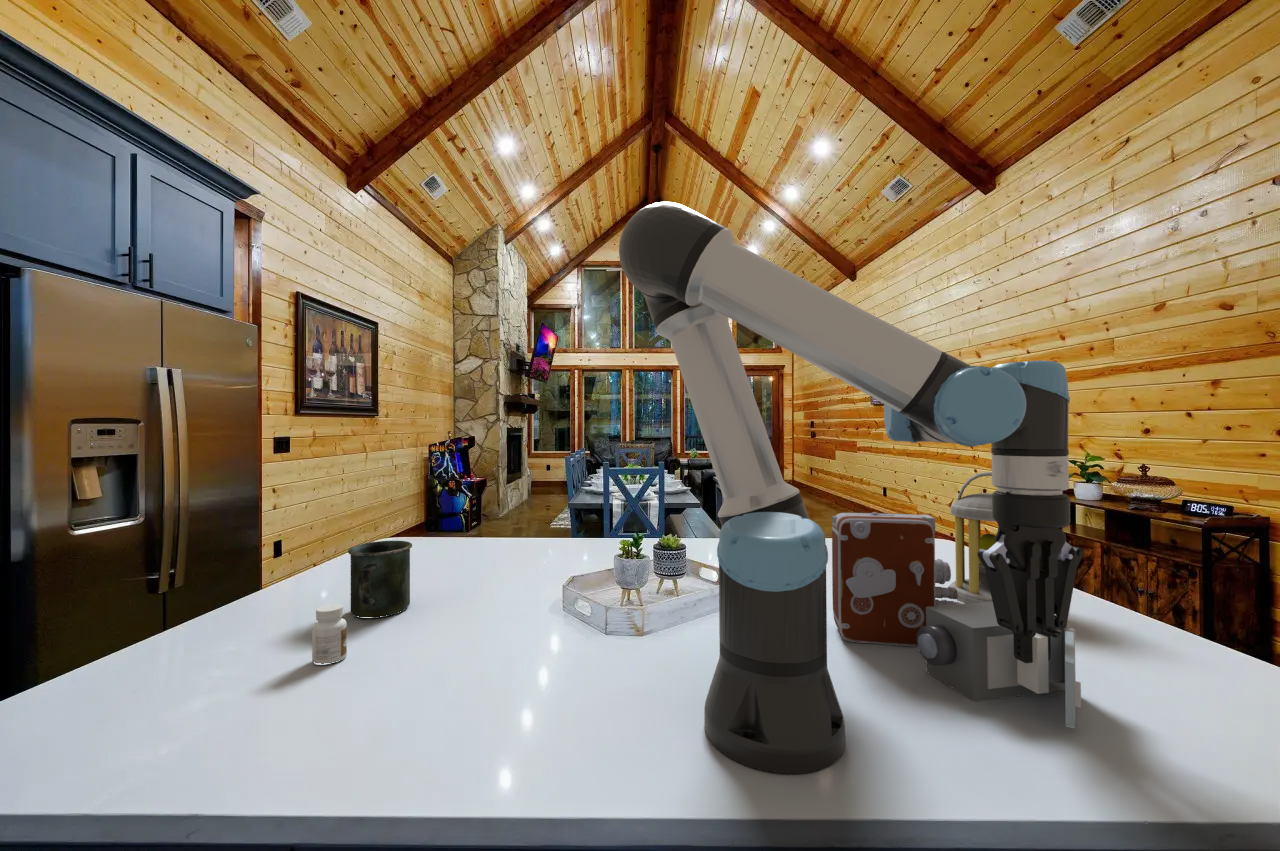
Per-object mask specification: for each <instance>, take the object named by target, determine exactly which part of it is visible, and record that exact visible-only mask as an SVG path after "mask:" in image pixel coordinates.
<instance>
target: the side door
mask: <svg viewBox="0 0 1280 851" xmlns="http://www.w3.org/2000/svg"><path fill="white" fill-rule="evenodd" d="M1076 675H1077V674H1076V630H1075V628H1072V627H1067V628H1064V685H1065V691H1064V693H1065V727H1068V728H1072V729H1076V708H1079V709H1081V708H1082V694H1081V692H1082V691H1081V690H1082V687H1081V685H1082V683H1081V682H1080V681H1077V680H1076Z"/></svg>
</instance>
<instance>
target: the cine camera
mask: <svg viewBox="0 0 1280 851" xmlns="http://www.w3.org/2000/svg"><path fill="white" fill-rule="evenodd" d="M831 518H832V519H831V520H832V528H831V557H832V558H831V560H832V561H831V564H832V565H831V566H832V567H831V568H832V570H831V571H832V574H831V575H832V581H831V583H832V611H833V612H832V613H833V619H834V622H835V626H836V628H837V629H838V632H839V634H840V636H841V638H842V639H843V640H845V641H847V642H850V643H858V644H859V643H860V644H873V645H885V646H902V647H915V648H916V647H917V648H918V645H917V632H918V630H919V629H920V628H921V627H923V626H926V607H929V606H942V605H955V604H965V603H963V602H961V601H953V600H956V599H957V598H958V592H957V589H956V588H955V587H949V586H947V587H943V586H936V584H939V585H945V583H946V582H947V583H948V582H950V581H951V578H952V571H951V570H952V569H951V566H950V564H949V562H946V561H945V562H944V560H943V559H941V558H937V559H936V551H935V550H936V546H935V545H936V543H935V534H936V517H933V516H931V515H929V514H911V513H910V514H908V513H888V512H887V513H885V512H884V513H882V512H881V513H878V512H877V511H873V512H840V513H837V514H836V515H832V517H831ZM939 599H941V600H939ZM948 599H950V600H948Z"/></svg>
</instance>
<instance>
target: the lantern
mask: <svg viewBox="0 0 1280 851" xmlns="http://www.w3.org/2000/svg"><path fill="white" fill-rule="evenodd" d="M980 477H992V471H985V472H984V471H983V472H979V473H976V474H975V475H973V476H971V477H970V478H968V480H966V482H964V483H963V485H962V486H961V488H960V491H959V493H958V494H957V499H956V501H954V502H953V503H952V504H951V506H950V514H951V515H952V516H954V522H955V523H954V528H955V530H954V534H955V535H954V536H955V538H954V540H955V543H954V544H955V551H954V552H955V580H954V581H953V582H951V583H950V584H949V586H948V587H955V588H956V589H957V592H958V598H957V601H958V602H961V603H963V602H964V604H968V603H981V602H993V601H992V597H991V592H990V588H989V584H988V579H987V575H986V570H985V567H984V565H983V564H982V562H981V560H980V559H979V557H978V551H979V550H980V549H985V550H988V549H989V548H991V547H992V546H993V545H994V544H995V543H996V542H995V536H996V535H995V534H993V533H985V534H982V533H981V521H985V522H996V520H994V518H993V516H992V493H993V492H992V493H989V492H983V493H982V492H981V493H980V492H979V493H972V494H968V495H965V496H962V495H963V493H964V491H965V489H966V488H967V487H968V485H970V484H971V482H973V481H974V480H976V479H978V478H980ZM965 519H966V520H968V523H967V525H968V526H967V527H968V578H965V577H966V576H965V574H966V573H965V572H966V568H965V567H966V566H965V565H966V564H965V560H966V558H965ZM981 534H982V535H981Z"/></svg>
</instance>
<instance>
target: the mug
mask: <svg viewBox="0 0 1280 851" xmlns="http://www.w3.org/2000/svg"><path fill="white" fill-rule="evenodd" d="M411 548H413V544H412V542H410V541H407V540H381V541H380V540H379V541H372V542H367V543H361V544H356V545H354V546H352V547H351V548H349V549H348V550H347V553H348V554H349V555H350V613H351V615H352V616H353V615H355V616H359V617H380V616H386V615H391V614H394V615H396V614H395V613H397V614H399V613H398V612H400V611H402V612H404V611H405V610H407V609H408V607H410V604H411V562H410V561H411V557H410V556H411ZM406 608H407V609H406ZM404 609H405V610H404ZM403 610H404V611H403ZM400 613H401V612H400ZM355 616H354V617H355ZM391 616H392V615H391ZM386 617H387V616H386Z"/></svg>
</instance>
